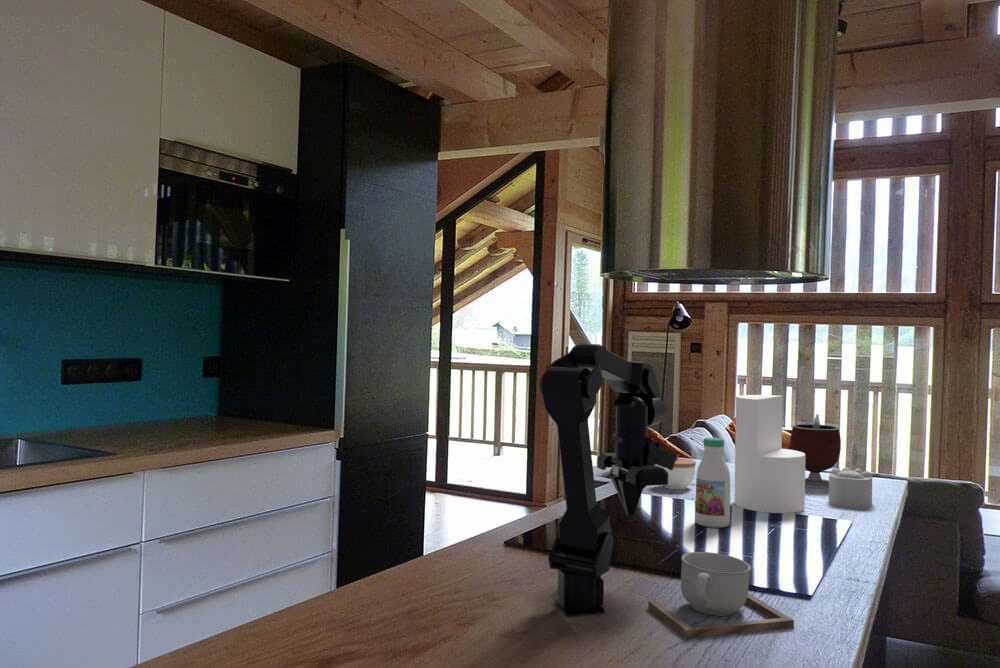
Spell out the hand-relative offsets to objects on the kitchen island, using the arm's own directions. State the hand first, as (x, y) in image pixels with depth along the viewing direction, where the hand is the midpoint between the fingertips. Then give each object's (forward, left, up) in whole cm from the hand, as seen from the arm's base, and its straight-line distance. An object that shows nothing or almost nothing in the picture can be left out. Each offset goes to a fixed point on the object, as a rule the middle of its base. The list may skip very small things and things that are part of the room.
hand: (630, 515), depth 143 cm
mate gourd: (+91, +69, -11) cm, 115 cm away
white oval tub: (+84, +46, -11) cm, 97 cm away
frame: (+5, -23, -11) cm, 26 cm away
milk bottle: (+35, +31, -11) cm, 48 cm away
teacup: (+5, -20, -11) cm, 24 cm away
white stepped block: (+60, +46, -11) cm, 76 cm away
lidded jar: (+47, +72, -11) cm, 87 cm away
